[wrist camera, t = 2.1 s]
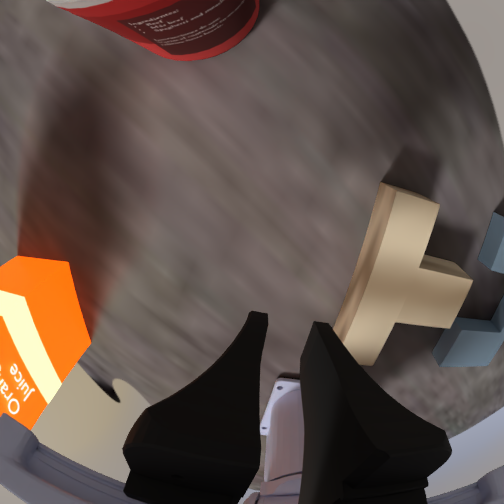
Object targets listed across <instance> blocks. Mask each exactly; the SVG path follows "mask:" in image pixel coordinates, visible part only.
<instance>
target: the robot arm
mask: <svg viewBox="0 0 504 504" xmlns="http://www.w3.org/2000/svg"><path fill="white" fill-rule="evenodd" d="M267 327H268V314H267V313H261V312H256V311H251V312H249V315H248V318H247V320H246V322H245V324H244V326H243V328H242V329H241V331H240V332H239V334H238V335H237V337H236V338H235V340H234V341H233V342H232V344H231V345H230V346H229V347H228V348H227V350H226V351H225V352H224V353H223V354H222V356H221V357H220V358H219V359H218V360H217V361H216V362H215V363H214V364H213V365H212V366H211V367H210V368H208V369H207V370H206V371H205V372H204V373H203V374H201V375H200V376H199V377H198V378H197V379H195V380H194V381H193V382H191V383H190V384H188V385H187V386H185V387H184V388H182V389H181V390H179V391H178V392H176V393H175V394H173V395H171V396H170V397H168V398H166V399H164V400H162V401H160V402H158V403H156V404H154V405H152V406H150V407H148V408H146V409H145V410H144V412H143V413H142V414H141V415H140V417H139V418H138V419H137V421H136V422H135V424H134V425H133V427H132V428H131V430H130V432H129V434H128V436H127V439H126V441H125V444H124V446H123V448H122V449H123V454H124V457H125V459H126V461H127V463H128V465H129V468H130V473H129V476H128V479H127V481H126V483H123V482H120V481H118V480H115V479H112V478H110V477H108V476H105V475H102V474H100V473H98V472H96V471H93V470H91V469H89V468H87V467H85V466H83V465H80V464H78V463H76V462H74V461H72V460H70V459H68V458H67V457H65V456H62V455H61V454H59V453H57V452H55V451H53V450H52V449H50V448H48V447H46V446H45V445H43V444H41V443H40V442H39V441H38V439H37V437H36V436H35V435H34V434H33V433H32V432H31V431H30V430H29V429H28V428H27V427H25V426H24V425H23V424H21V423H19V422H18V421H17V420H15V419H14V418H12V417H11V416H9V415H8V414H6V413H3V414H2V415H1V416H0V484H1V485H2V486H4V487H5V488H6V489H7V490H9V491H10V492H12V493H13V494H14V495H16V496H17V497H18V498H20V499H21V500H23V501H24V502H26V503H27V504H238V502H239V500H240V498H241V497H243V496H244V494H245V493H246V491H247V489H248V487H249V486H250V484H251V482H252V480H253V479H254V477H255V475H256V473H257V471H258V469H259V466H260V456H261V440H260V434H261V435H267V441H266V456H265V470H264V481H265V482H261V488H260V492H254V493H252V494H251V495H250V496H249V498H247V499H246V500H245V501H244V503H243V504H504V465H503V466H502V467H499V468H497V469H495V470H492V471H491V472H489V473H487V474H486V475H485V476H483V477H482V478H480V479H479V480H478V482H476V483H473V484H470V485H468V486H465V487H462V488H459V489H456V490H454V491H450V492H447V493H444V494H441V495H437V496H434V497H430V498H426V494H425V490H424V488H426V487H427V486H428V480H427V477H428V476H429V475H431V474H432V473H433V472H434V471H436V470H437V469H438V468H439V467H441V466H442V465H443V464H444V463H445V462H446V461H447V460H448V459H449V457H450V456H451V453H452V449H451V446H450V443H449V440H448V438H447V435H446V432H445V431H444V430H442V429H440V428H439V427H437V426H435V425H433V424H431V423H429V422H427V421H425V420H423V419H422V418H420V417H418V416H417V415H415V414H414V413H412V412H411V411H409V410H408V409H406V408H405V407H404V406H402V405H401V404H400V403H398V402H397V401H396V400H395V399H393V398H392V397H391V396H390V395H389V394H387V393H386V392H385V391H384V390H383V389H382V388H381V387H380V386H379V385H378V384H377V383H376V382H375V381H374V380H373V379H372V378H371V377H370V376H369V375H368V374H367V373H366V372H365V371H364V369H363V368H362V367H361V366H360V365H359V364H358V362H357V361H356V360H355V359H354V357H353V356H352V355H351V354H350V352H349V351H348V350H347V348H346V347H345V346H344V344H343V343H342V341H341V340H340V339H339V337H338V336H337V334H336V333H335V332H334V330H333V329H332V327H331V326H330V325H329V323H323V322H316V321H314V322H313V325H312V328H311V331H310V334H309V336H308V339H307V342H306V345H305V347H304V350H303V353H302V355H301V358H300V380H296V379H288V378H278V379H277V380H276V382H275V385H274V387H273V390H272V393H271V396H270V399H269V401H268V404H267V407H266V410H265V412H264V415H263V418H262V420H261V423H260V418H259V391H260V363H261V356H262V351H263V347H264V342H265V337H266V332H267ZM279 386H281V387H279Z"/></svg>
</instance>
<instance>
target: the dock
mask: <svg viewBox="0 0 504 504" xmlns="http://www.w3.org/2000/svg"><path fill="white" fill-rule="evenodd" d="M478 260H479V261H480V262H482V263H483V264H484V265H485V266H486V267H488V268H489V269H490V270H492V271H496V272H499V273H503V274H504V217H503V216H501V215H499V214H497V213H495V212H493V215H492V219H491V222H490V225H489V228H488V231H487V234H486V237H485V240H484V243H483V246H482V249H481V251H480V254H479V257H478ZM503 341H504V295H503V297H502V299H501V301H500V303H499V306H498V307H497V309H496V311H495V313H494V315H493V317H492V319H491V321H488V320H479V319H470V318H461V317H456V318H455V320H454V322H453V324H452V325H451V327H450V329H447V328H445V330H444V332H443V334H442V335H441V337H440V339H439V341H438V342H437V344H436V346H435V347H434V349H433V351H432V354H433V356H434V358H435V359H436V361H437V363H438V365H439V367H466V366H488V364H489V363H490V361H491V360H492V358H493V357H494V355H495V354H496V352H497V351H498V349H499V347H500V346H501V344H502V343H503Z"/></svg>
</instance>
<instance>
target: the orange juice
mask: <svg viewBox="0 0 504 504" xmlns="http://www.w3.org/2000/svg"><path fill="white" fill-rule="evenodd" d="M90 344H91V341H90V338H89V335H88V332H87V329H86V326H85V323H84V319H83V316H82V313H81V309H80V306H79V302H78V299H77V295H76V291H75V288H74V284H73V280H72V276H71V271H70V267H69V262H64V261H56V260H47V259H39V258H31V257H23V256H16V257H15V258H13V259H12V260H10V261H9V262H7V263H6V264H4V265H3V266H1V267H0V416H1V415H2V414H3V413H6V414H8V415H9V416H11V417H12V418H14V419H15V420H17V421H18V422H19V423H21V424H23V425H24V426H25V427H27V428H28V429H29V430H30V431H31V429H32V427H33V426H34V424H35V423H36V421H37V419H38V418H39V416H40V414H41V413H42V412H43V410H44V409H45V407H46V406H47V404H49V402H50V401H51V399H52V398H53V396H54V395H55V394H56V392H57V391H58V389H59V388H60V386H61V385H62V382H63V381H64V379H65V378H66V376H67V375H68V374H69V372H70V371H71V369H72V368H73V367H74V365H75V364H76V363H77V361H78V360H79V358H80V357H81V356H82V354H83V353H84V352H85V350H86V349H87V348H88V346H89V345H90Z"/></svg>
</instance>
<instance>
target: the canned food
mask: <svg viewBox="0 0 504 504" xmlns="http://www.w3.org/2000/svg"><path fill="white" fill-rule="evenodd" d="M46 1H48V2H49V3H51V4H53V5H55V6H56V7H59V8H61V9H64V10H66V11H69V12H71V13H72V14H75V15H77V16H80V17H82V18H84V19H87V20H89V21H91V22H93V23H96V24H98V25H100V26H102V27H104V28H107V29H109V30H111V31H113V32H115V33H117V34H119V35H121V36H123V37H125V38H127V39H129V40H131V41H133V42H135V43H137V44H138V45H140V46H142V47H144V48H146V49H148V50H150V51H151V52H153V53H155V54H157V55H160V56H162V57H164V58H168V59H173V60H181V61H192V60H200V59H206V58H210V57H214V56H217V55H219V54H221V53H224V52H226V51H228V50H229V49H231V48H232V47H234V46H236V45H237V44H238V43H239V42H240V41H241V40H242V39H243V38H245V36H246V35H247V34H248V33H249V31H250V30H251V29H252V27H253V26H254V23H255V21H256V19H257V17H258V12H259V0H46Z"/></svg>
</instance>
